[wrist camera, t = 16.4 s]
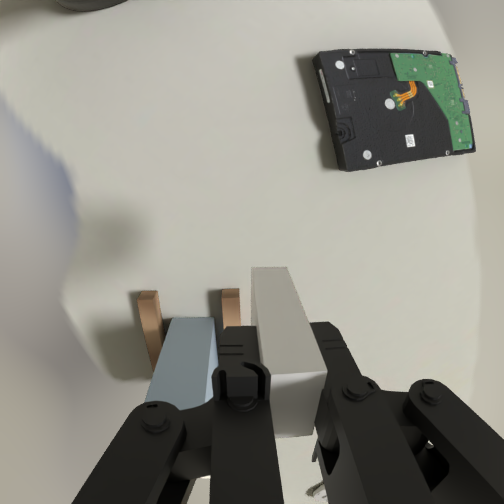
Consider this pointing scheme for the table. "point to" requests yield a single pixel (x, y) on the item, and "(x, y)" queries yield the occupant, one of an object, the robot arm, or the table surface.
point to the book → (186, 364)
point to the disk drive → (393, 106)
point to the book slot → (154, 323)
